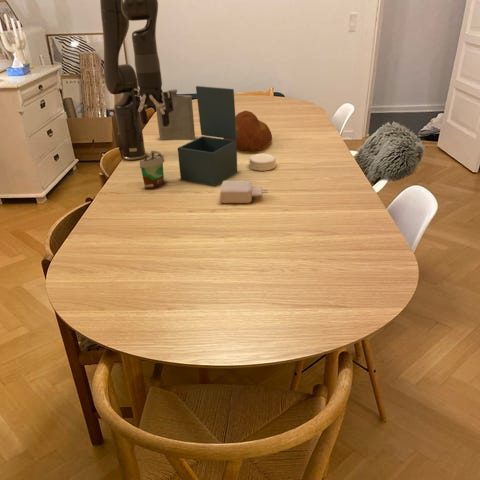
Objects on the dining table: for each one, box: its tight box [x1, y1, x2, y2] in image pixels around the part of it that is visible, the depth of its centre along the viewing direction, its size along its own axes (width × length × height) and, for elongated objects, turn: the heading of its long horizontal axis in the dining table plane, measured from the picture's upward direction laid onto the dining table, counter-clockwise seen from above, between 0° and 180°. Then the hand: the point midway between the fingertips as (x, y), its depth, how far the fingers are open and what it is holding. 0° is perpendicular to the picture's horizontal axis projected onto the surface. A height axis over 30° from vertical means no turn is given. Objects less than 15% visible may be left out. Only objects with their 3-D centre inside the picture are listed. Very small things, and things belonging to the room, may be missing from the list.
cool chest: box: [177, 135, 238, 187], centre depth 168 cm, size 16×15×11 cm
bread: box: [222, 110, 273, 152], centre depth 199 cm, size 21×33×12 cm, turn 3°
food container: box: [139, 150, 165, 190], centre depth 162 cm, size 12×6×10 cm, turn 168°
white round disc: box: [248, 153, 277, 172], centre depth 176 cm, size 10×10×4 cm
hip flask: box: [155, 88, 196, 141], centre depth 205 cm, size 16×4×20 cm, turn 88°
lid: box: [195, 85, 237, 140], centre depth 166 cm, size 16×15×6 cm
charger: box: [220, 180, 270, 204], centre depth 152 cm, size 5×9×15 cm
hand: (155, 124), depth 155 cm, fingers open, 8 cm apart
